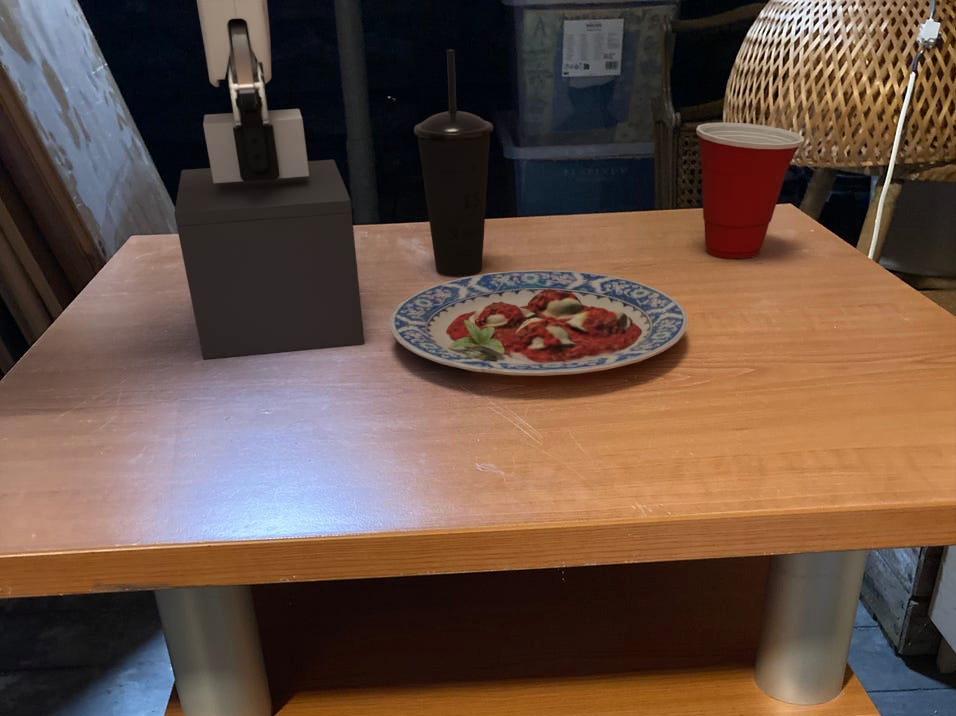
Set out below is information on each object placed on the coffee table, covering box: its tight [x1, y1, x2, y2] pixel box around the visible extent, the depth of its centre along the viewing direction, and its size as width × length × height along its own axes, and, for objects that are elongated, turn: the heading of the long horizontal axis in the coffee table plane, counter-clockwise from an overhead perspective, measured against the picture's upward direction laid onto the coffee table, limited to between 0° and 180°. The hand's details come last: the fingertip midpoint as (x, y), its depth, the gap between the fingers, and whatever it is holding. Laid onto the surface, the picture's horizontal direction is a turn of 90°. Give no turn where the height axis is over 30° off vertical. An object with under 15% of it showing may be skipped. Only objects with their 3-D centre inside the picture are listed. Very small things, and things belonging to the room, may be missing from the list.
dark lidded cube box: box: [174, 159, 365, 360], centre depth 90 cm, size 14×16×12 cm
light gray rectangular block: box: [202, 108, 309, 183], centre depth 84 cm, size 8×4×4 cm, turn 101°
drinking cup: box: [413, 49, 494, 277], centre depth 99 cm, size 8×8×20 cm
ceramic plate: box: [389, 269, 689, 377], centre depth 87 cm, size 26×26×3 cm
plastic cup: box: [695, 121, 805, 259], centre depth 104 cm, size 11×11×12 cm
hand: (259, 170), depth 85 cm, fingers closed on light gray rectangular block, 4 cm apart
